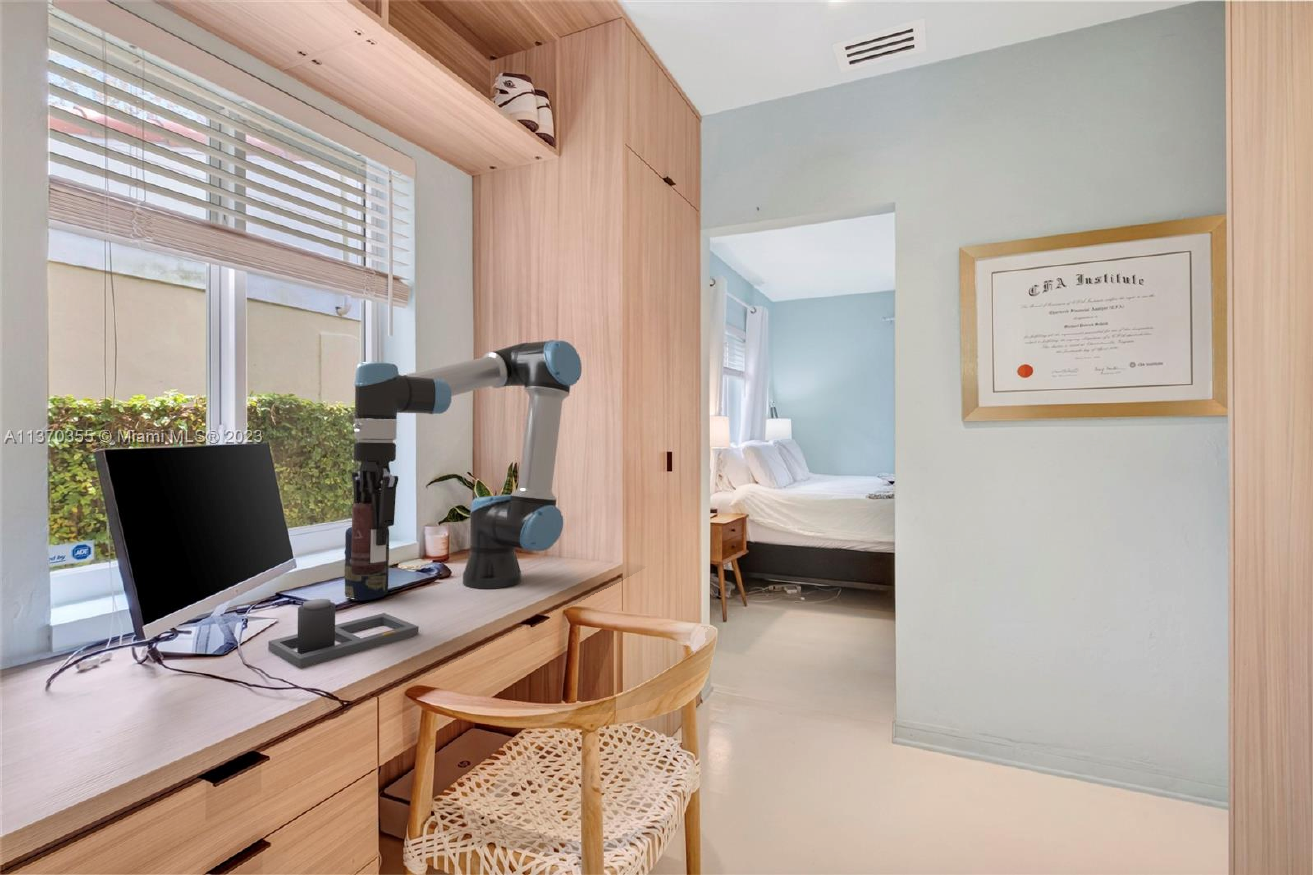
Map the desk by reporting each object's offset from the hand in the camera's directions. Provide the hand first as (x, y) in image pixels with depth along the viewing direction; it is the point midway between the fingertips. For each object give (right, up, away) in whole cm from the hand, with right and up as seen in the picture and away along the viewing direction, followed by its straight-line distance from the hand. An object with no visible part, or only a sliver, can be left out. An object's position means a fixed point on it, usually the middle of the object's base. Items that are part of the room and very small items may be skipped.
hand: (372, 559), depth 118 cm
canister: (-13, -14, +25) cm, 32 cm away
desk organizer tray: (-3, -15, -4) cm, 16 cm away
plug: (-7, -15, -8) cm, 18 cm away
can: (-1, -3, +1) cm, 3 cm away
